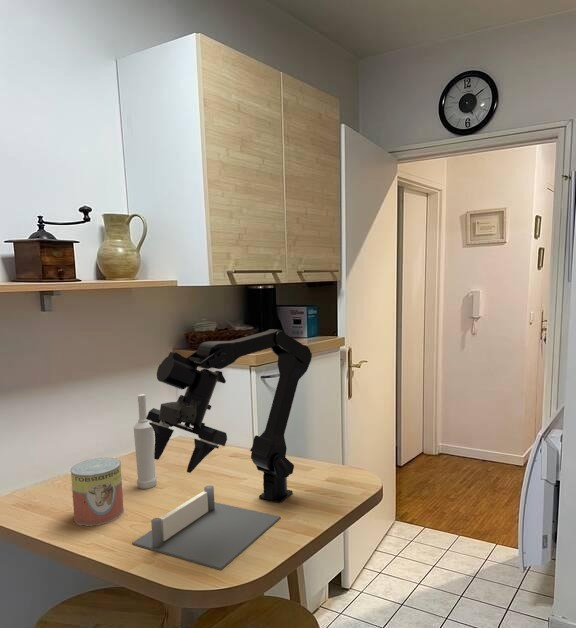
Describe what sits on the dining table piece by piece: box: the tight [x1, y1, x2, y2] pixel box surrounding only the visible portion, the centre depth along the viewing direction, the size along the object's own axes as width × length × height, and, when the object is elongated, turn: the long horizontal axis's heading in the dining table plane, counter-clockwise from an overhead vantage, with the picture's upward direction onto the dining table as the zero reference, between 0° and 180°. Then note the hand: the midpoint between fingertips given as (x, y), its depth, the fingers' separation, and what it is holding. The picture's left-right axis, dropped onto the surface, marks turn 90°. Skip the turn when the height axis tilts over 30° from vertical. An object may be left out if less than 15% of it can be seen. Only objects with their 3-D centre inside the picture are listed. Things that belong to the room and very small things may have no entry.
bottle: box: [133, 393, 157, 490], centre depth 138 cm, size 5×5×25 cm
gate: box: [160, 484, 215, 541], centre depth 114 cm, size 18×2×5 cm, turn 151°
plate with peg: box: [131, 501, 282, 571], centre depth 112 cm, size 23×23×6 cm
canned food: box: [70, 457, 125, 527], centre depth 122 cm, size 11×11×12 cm
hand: (172, 465), depth 109 cm, fingers open, 9 cm apart
